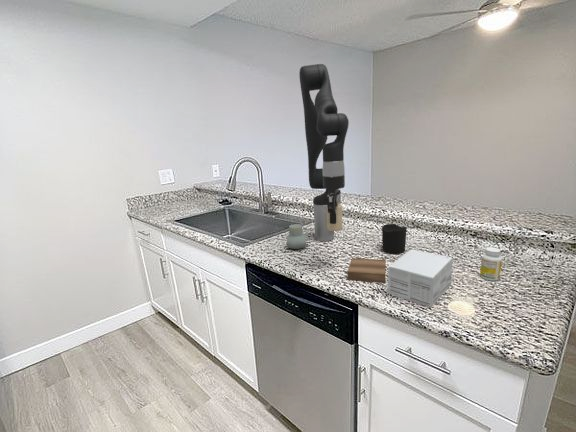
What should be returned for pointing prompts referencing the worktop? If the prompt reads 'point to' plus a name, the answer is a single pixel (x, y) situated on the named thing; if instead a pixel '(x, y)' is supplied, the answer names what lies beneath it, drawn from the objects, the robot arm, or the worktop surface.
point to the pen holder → (393, 238)
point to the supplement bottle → (491, 264)
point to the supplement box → (420, 277)
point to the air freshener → (296, 237)
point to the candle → (338, 219)
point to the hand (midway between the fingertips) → (334, 221)
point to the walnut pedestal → (367, 270)
